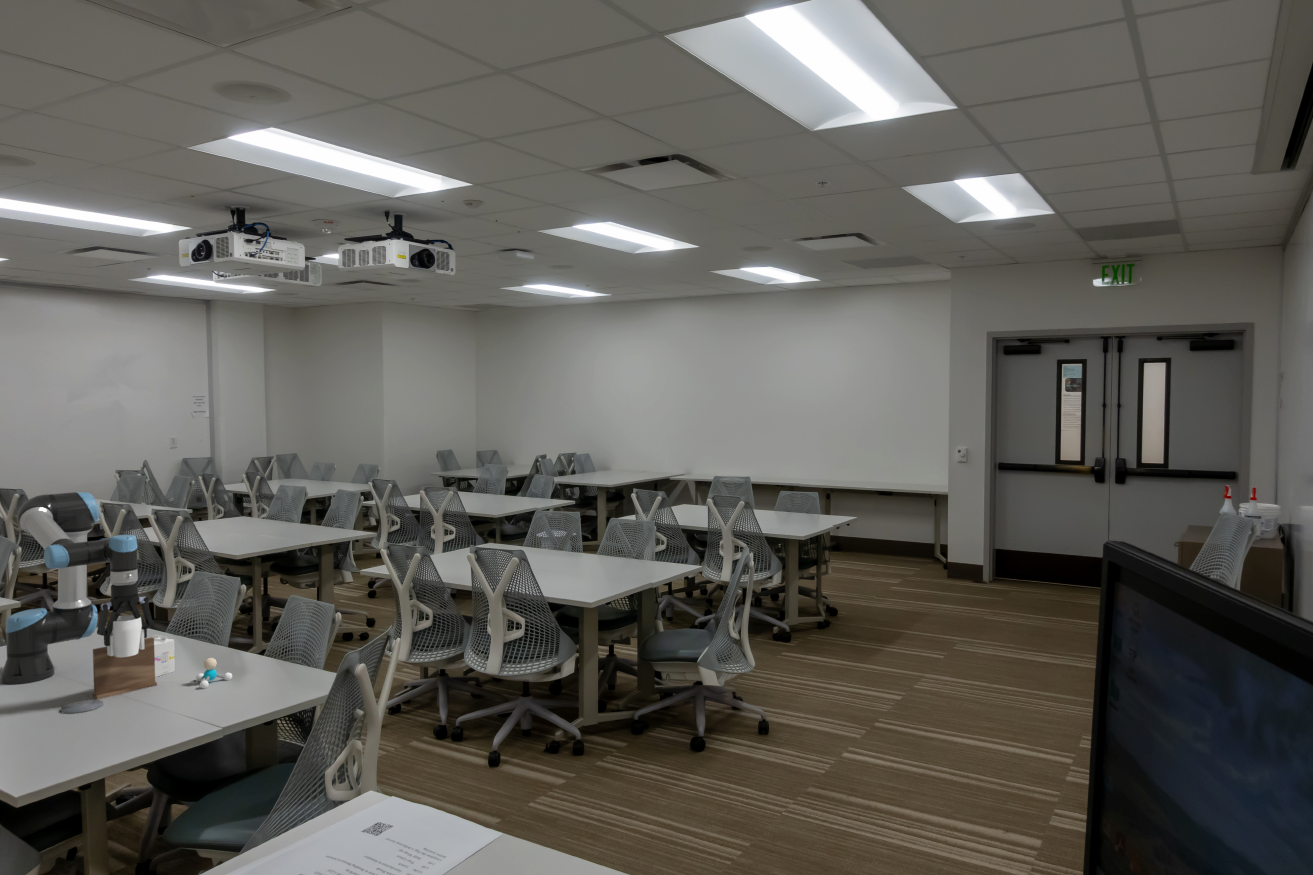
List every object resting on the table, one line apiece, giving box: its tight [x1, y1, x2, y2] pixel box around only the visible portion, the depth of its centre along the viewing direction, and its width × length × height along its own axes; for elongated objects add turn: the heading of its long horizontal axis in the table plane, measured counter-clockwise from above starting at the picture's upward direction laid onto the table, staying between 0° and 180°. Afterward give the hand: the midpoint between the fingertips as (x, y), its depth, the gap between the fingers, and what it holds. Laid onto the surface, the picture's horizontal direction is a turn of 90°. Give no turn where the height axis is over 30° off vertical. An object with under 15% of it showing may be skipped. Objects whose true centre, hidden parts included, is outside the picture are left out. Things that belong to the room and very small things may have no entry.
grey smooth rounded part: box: [60, 699, 104, 715], centre depth 272 cm, size 11×11×1 cm
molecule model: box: [195, 657, 233, 689], centre depth 297 cm, size 12×12×9 cm
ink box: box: [149, 633, 176, 678], centre depth 307 cm, size 9×8×13 cm
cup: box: [110, 614, 142, 657], centre depth 280 cm, size 9×9×12 cm
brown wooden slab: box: [92, 636, 158, 700], centre depth 287 cm, size 4×18×16 cm, turn 143°
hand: (126, 651), depth 280 cm, fingers closed on cup, 9 cm apart
